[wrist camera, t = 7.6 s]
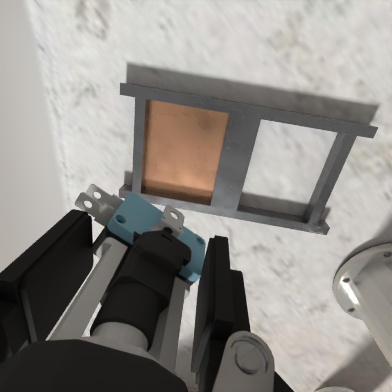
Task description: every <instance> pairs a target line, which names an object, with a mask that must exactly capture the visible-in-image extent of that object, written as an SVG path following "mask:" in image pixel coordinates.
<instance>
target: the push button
mask: <svg viewBox="0 0 392 392" xmlns="http://www.w3.org/2000/svg"><path fill="white" fill-rule="evenodd" d="M94 192H99V193H100V194H101V198H100V199H97V198H95V197H94V195H93V193H94ZM84 201H90V202H91V203H92V207H91V208H88V207H86V206H85V205H84ZM75 205H76V206H77V207H79V208H80V209H82V210H84V211H86V212H87V213H88V214H90V215H92V216H93V217H95V219H94V220H95V221H96V222H98V223H100V224H101V225H103V226H104V227H105V228H104V229H103V230H102V232H101V233H100V235H99V236H98V237H97V239H96V240H95V242H94V243H93V244H92V246H91V251H92V253H93V254H95V255H96V256H97V257H99V258H100V260H99V262H98V263H97V265H96V266H95V268H94V270H93V271H92V273H91V274H90V276H89V277H88V279H87V281H86V282H85V284H84V285H83V287H82V288H81V290H80V292H79V293H78V295H77V296H76V298H75V300H74V301H73V303H72V304H71V306H70V307H69V309H68V310H67V312H66V314H65V315H64V317H63V319H62V320H61V322H60V323H59V325H58V326H57V328H56V329H55V331H54V333H53V334H52V336H51V337H50V339H49V340H47V341H35V342H33V343H31V344H29V345H28V346H26V347H25V348H23V349H22V350H20V351H19V352H17V353H16V354H14V355H13V356H11V357H10V358H8V359H7V360H5V361H4V362H2V363H1V364H0V392H188V389H187V386H186V384H185V383H184V381H183V380H181V379H180V378H178V377H177V376H176V375H174V369H175V361H176V354H177V347H178V339H179V332H180V325H181V317H182V310H183V303H184V299H185V298H186V297H188V295H189V291H190V286H191V285H192V284H193V283H194V282H195V281H197V280H198V279H199V278H200V277H201V275H202V268H203V264H204V257H205V245H206V244H205V241H204V240H203V239H202V238H201V237H200V236H198V235H197V234H194V233H193V232H192V231H190V230H189V229H187V228H186V227H184V226H183V222H184V218H185V217H184V216H183V214H182V213H181V212H179V211H178V210H176V209H175V208H173V207H172V206H170V205H166V207H165V210H164V212H162V211H161V210H159V209H158V208H156V207H155V206H153V205H152V204H150V203H149V202H147V201H146V200H144V199H143V198H141V197H140V196H138V195H137V194H135V193H130V194H129V195H128V196H127V198H126V199H125V200H124V201H123V200H122V199H120V198H119V197H117V196H116V195H114V194H113V195H112V196H111V195H109V194H108V193H106V192H105V191H103V190H102V189H100V188H99V187H97V186H96V185H94V184H91V185H90V186H89V188H88V190H87V191H86V193H84V192H82V193H80V195H79V196H78V198H77V200H76V201H75ZM170 212H173V213H175V214H176V215H177V217H178V219H175V218H174V217H172V215H171V214H170ZM99 302H100V303H101V305H102V306H101V308H100V310H99V312H98V314H97V316H96V318H95V320H94V322H93V324H92V326H91V329H90V337H81V336H82V335H83V333H84V331H85V329H86V327H87V325H88V323H89V321H90V319H91V317H92V315H93V313H94V311H95V310H96V308H97V306H98V304H99ZM147 352H148V353H147Z"/></svg>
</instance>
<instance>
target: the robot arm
mask: <svg viewBox="0 0 392 392" xmlns="http://www.w3.org/2000/svg"><path fill="white" fill-rule="evenodd" d="M92 244H93V239H92V217H91V216H89V215H88V213H87V212H86V211H80V210H75V209H73V210H71V211H70V212H69V213H67V214H66V215H65V216H64V217H63V218H62V219H61V220H60V221H59V222H58V223H56V224H55V225H54V226H53V227H52V228H51V229H50V230H48V231H47V232H46V233H45V234H44V235H43V236H42V237H41V238H39V239H38V240H37V241H36V242H35V243H34V244H33V245H32V246H30V247H29V248H28V249H27V250H26V251H25V252H24V253H22V254H21V255H20V256H19V257H18V258H17V259H16V260H14V262H12V263H11V264H10V265H9V266H8V267H7V268H5V270H3V271H2V272H1V273H0V364H1V363H2V362H4V361H5V360H7V359H8V358H10V357H11V356H13V355H14V354H16V353H17V352H19V351H20V350H22V349H23V348H25V347H26V346H28V345H29V344H31V343H33V342H35V341H45V340H46V338H47V337H48V335H49V334H50V332H51V331H52V329H53V327H54V326H55V325H56V323H57V322H58V320H59V318H60V317H61V315H62V314H63V312H64V311H65V309H66V307H67V306H68V305H69V303H70V302H71V300H72V299H73V297H74V296H75V294H76V293H77V291H78V290H79V288H80V287H81V285H82V284H83V282H84V281H85V279H86V278H87V276H88V275H89V273H90V271H91V270H92V267H93V253H92V251H91V246H92ZM333 293H334V296H335V298H336V300H337V302H338V304H339V305H340V307H341V308H342V309H343V310H344V311H345V312H346V313H347V314H349V315H351V316H353V317H355V318H358V319H361V320H363V322H364V323H365V325H366V326H367V328H368V330H369V331H370V333H371V335H372V336H373V338H374V340H375V341H376V343H377V345H378V346H379V348H380V350H381V351H382V353H383V355H384V356H385V358H386V359H387V361H388V363H389V364H390V366H391V368H392V243H388V244H382V245H378V246H374V247H372V248H369V249H367V250H364V251H362V252H360V253H358V254H357V255H355V256H353V257H352V258H351V259H350V260H348V261H347V262H346V263H345V264H344V265H343V266H342V267H341V268H340V270H339V271H338V273H337V274H336V276H335V279H334V282H333ZM274 369H275V365H274V357H273V355H272V352H271V350H270V348H269V347H268V345H267V344H266V343H265V342H264V341H263V340H262V339H261V338H260V337H259V336H257V335H255V334H254V333H251V331H250V324H249V317H248V310H247V302H246V295H245V288H244V281H243V274H242V272H241V271H237V270H231V269H230V258H229V245H228V238H227V237H222V236H217V235H215V237H214V238H210V239H209V242H208V247H207V251H206V255H205V259H204V264H203V268H202V275H201V277H200V280H199V286H198V294H197V306H196V317H195V329H194V340H193V352H192V364H191V372H194V373H196V384H199V392H294V391H293V390H292V389H291V388H290V387H289V386H288V385H287V383H286V382H285V381H284V380H283V379H282V378H281V377H280V376H279V375H278V374H277V373H276V372H275V371H274Z"/></svg>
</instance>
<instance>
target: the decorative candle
mask: <svg viewBox="0 0 392 392" xmlns="http://www.w3.org/2000/svg"><path fill="white" fill-rule="evenodd" d="M315 392H355V391H354V390H352V389H349V388H346V387H338V386H332V387H324V388H322V389H319V390H316V391H315Z"/></svg>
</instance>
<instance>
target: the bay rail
mask: <svg viewBox="0 0 392 392" xmlns="http://www.w3.org/2000/svg"><path fill="white" fill-rule="evenodd" d="M120 95H126V96H131V97H135V123H134V150H133V176H132V186H129V185H123V186H122V187H121V188H120V189H119V197H120V198H125V199H126V198H127V196H128V195H129V194H130V193H135V194H137V195H138V196H140V197H141V198H143V199H144V200H146V201H147V202H149V203H153V204H158V205H164V206H166V205H170V206H172V207H174V208H180V209H185V210H191V211H196V212H202V213H207V214H213V215H218V216H224V217H229V218H235V219H240V220H246V221H251V222H257V223H262V224H268V225H273V226H279V227H284V228H290V229H295V230H301V231H306V232H312V233H317V234H323V235H327V233H328V231H329V229H330V227H329V226H328V225H327V223H326V222H325V221H323V220H319V219H320V216H321V214H322V212H323V210H324V208H325V205H326V203H327V201H328V199H329V196H330V194H331V192H332V190H333V188H334V185H335V183H336V181H337V179H338V177H339V174H340V172H341V170H342V168H343V165H344V163H345V161H346V159H347V157H348V154H349V152H350V150H351V148H352V145H353V143H354V141H355V139H356V137H357V136H362V137H368V138H374V135H375V133H376V131H377V129H378V127H375V126H371V125H366V124H360V123H354V122H349V121H343V120H337V119H331V118H325V117H320V116H314V115H308V114H302V113H297V112H291V111H285V110H279V109H273V108H268V107H262V106H256V105H250V104H244V103H239V102H233V101H227V100H221V99H215V98H210V97H204V96H198V95H192V94H186V93H181V92H175V91H169V90H163V89H157V88H152V87H146V86H140V85H134V84H128V83H120ZM261 119H264V120H270V121H275V122H281V123H287V124H293V125H299V126H304V127H310V128H316V129H322V130H327V131H333V132H338V134H337V137H336V139H335V141H334V144H333V146H332V149H331V151H330V154H329V156H328V158H327V161H326V163H325V166H324V168H323V170H322V173H321V175H320V178H319V180H318V183H317V185H316V187H315V190H314V192H313V195H312V197H311V199H310V202H309V204H308V207H307V209H306V212H305V214H304V216H303V217H300V216H295V215H289V214H284V213H278V212H273V211H267V210H262V209H256V208H251V207H245V206H240V205H238V204H239V200H240V196H241V193H242V189H243V185H244V181H245V178H246V174H247V170H248V166H249V162H250V159H251V155H252V151H253V147H254V144H255V140H256V136H257V132H258V128H259V125H260V121H261Z"/></svg>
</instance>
